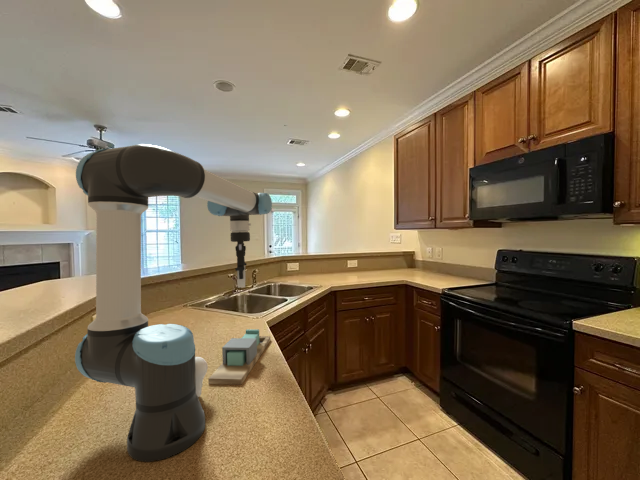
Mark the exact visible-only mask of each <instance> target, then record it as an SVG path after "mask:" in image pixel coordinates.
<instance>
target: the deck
mask: <svg viewBox="0 0 640 480" xmlns="http://www.w3.org/2000/svg"><path fill="white" fill-rule="evenodd" d="M259 339H260V343H259V344H258V346H257V355H256V356H255V358H254V359H253V361H252V362H251V364H250V365H247V360H246V362H245V363H244V365H243V366H227V363H226V364H223V362H222V363H221V364H220V365H219V366H218V367H217V368H216V370H215V371H213V373H212V374H211V375H210V376H209V377H208V385H239V386H241V385H242V384H243V383H244V382H245V380H246V378H247V377H248V375H249V374H250V373H251V371H252V370H253V368H254V366H255V365H256V363H257V362H258V360H259V359H260V357H261V356H262V354H263V352H264V351H265V350H266V348H267V346H268V344H269V343H270V341H271V340H272V339H271V336H269V335H268V336H266V335H265V336H264V335H262V336H261V335H259Z"/></svg>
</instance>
